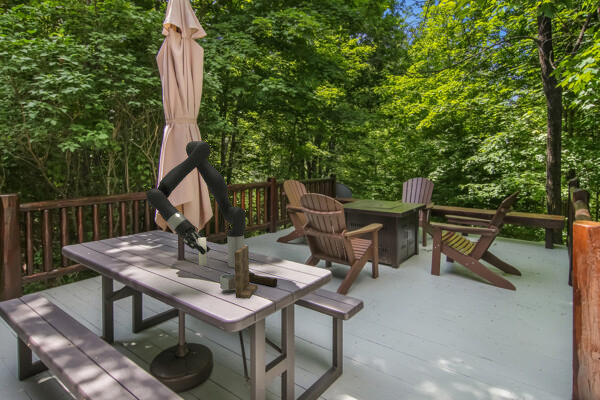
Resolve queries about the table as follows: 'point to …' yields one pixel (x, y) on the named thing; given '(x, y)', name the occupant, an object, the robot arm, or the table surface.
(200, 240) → the cream white cylinder
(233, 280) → the metal cup
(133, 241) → the table surface
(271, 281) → the hand tool
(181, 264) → the table surface
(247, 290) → the wooden bookend
